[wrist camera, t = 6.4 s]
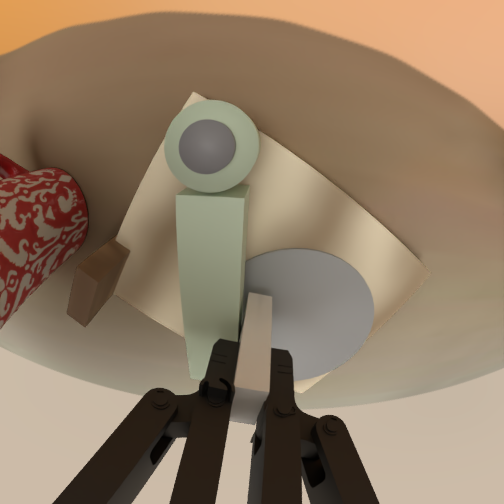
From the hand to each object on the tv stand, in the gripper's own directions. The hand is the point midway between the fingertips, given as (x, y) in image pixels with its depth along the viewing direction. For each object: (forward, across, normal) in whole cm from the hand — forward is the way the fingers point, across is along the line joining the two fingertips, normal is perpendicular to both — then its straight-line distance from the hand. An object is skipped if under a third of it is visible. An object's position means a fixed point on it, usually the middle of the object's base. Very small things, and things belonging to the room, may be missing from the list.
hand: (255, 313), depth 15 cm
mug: (+3, -17, +4) cm, 18 cm away
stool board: (+3, 0, +1) cm, 4 cm away
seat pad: (+1, +3, -1) cm, 3 cm away
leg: (+1, -3, +3) cm, 4 cm away
